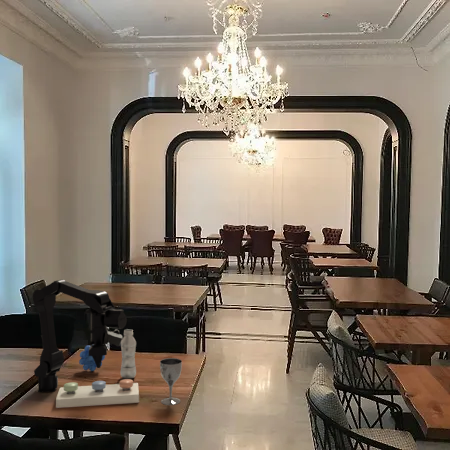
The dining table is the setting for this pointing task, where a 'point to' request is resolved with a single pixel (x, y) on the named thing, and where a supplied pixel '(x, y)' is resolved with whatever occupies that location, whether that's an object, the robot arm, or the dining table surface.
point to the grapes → (88, 360)
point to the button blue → (98, 385)
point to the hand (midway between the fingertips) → (98, 367)
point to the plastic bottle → (128, 355)
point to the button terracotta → (126, 384)
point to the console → (97, 396)
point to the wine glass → (170, 376)
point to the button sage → (70, 387)
